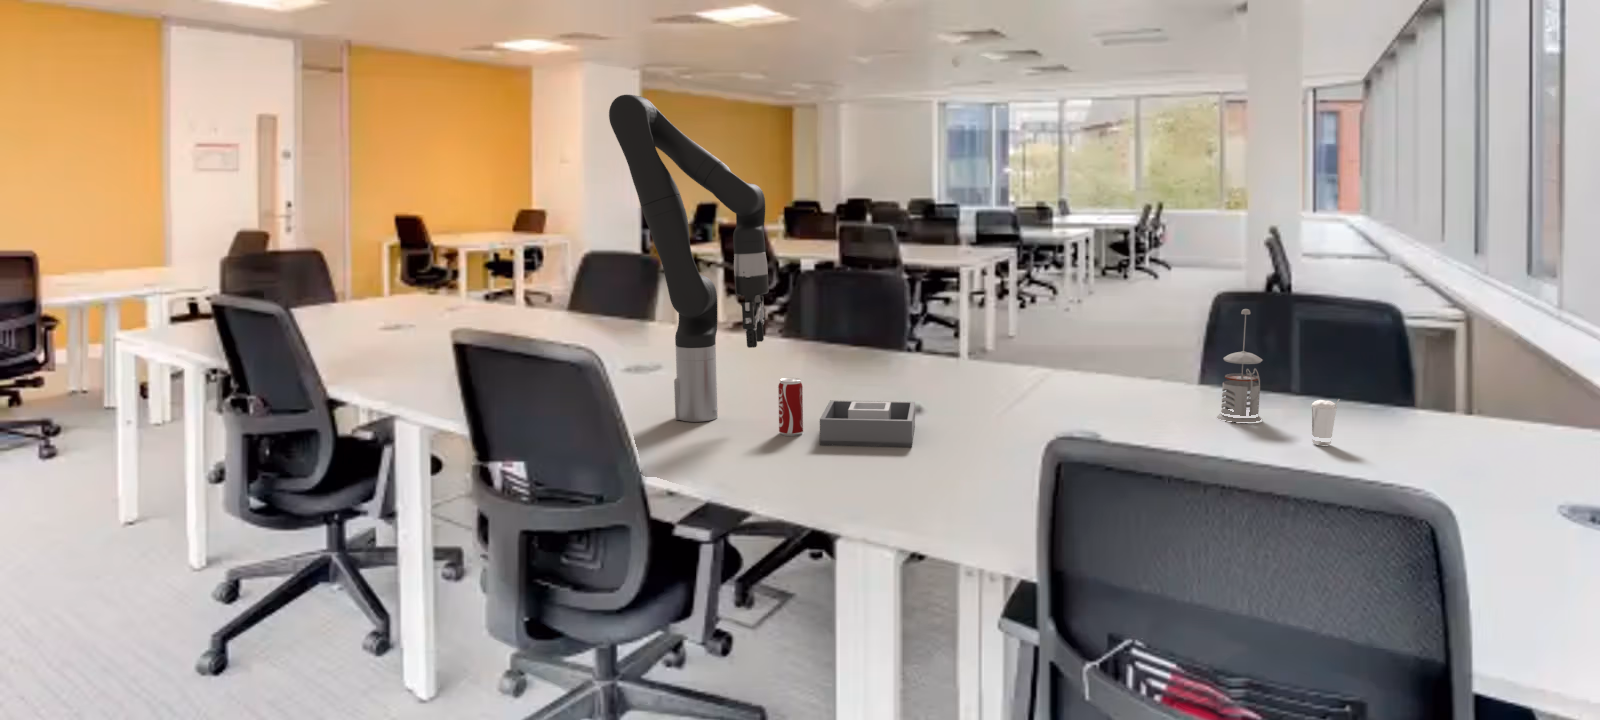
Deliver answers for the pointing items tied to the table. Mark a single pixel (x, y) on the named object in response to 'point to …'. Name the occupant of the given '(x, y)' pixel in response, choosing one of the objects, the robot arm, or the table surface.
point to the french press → (1241, 386)
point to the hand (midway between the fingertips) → (755, 344)
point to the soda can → (790, 406)
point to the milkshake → (1323, 420)
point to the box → (868, 423)
